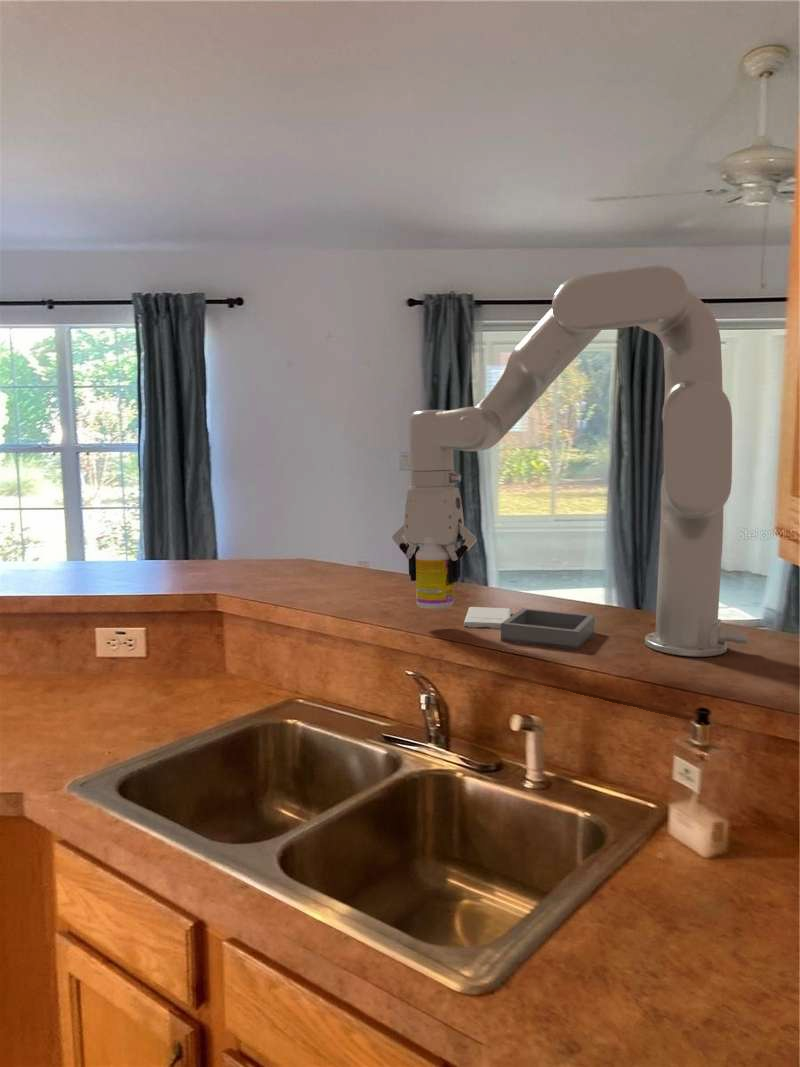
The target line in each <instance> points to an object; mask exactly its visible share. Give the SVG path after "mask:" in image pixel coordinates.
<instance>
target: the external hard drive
mask: <svg viewBox="0 0 800 1067" xmlns="http://www.w3.org/2000/svg"><path fill="white" fill-rule="evenodd" d="M511 613H512V609H511V608H508V607H506V608H505V607H488V606H487V607H485V606H484V607H483V606H482V607H480V606H469V607H468V610H467V612H466V616H465V619H464V622H463V627H464V626H468V627H467V628H477V627H489V628H488V629H500V628H501V623H502V622H504V621H505V620H507V619H508V618H510V617H511V616H512V614H511Z"/></svg>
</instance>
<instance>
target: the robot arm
mask: <svg viewBox="0 0 800 1067" xmlns="http://www.w3.org/2000/svg"><path fill="white" fill-rule="evenodd" d="M715 318H716V317H715V316H714V314H713V313H712V311H711V310H710V308H709V307H708V306H707V305H706V303H704V302H703V301H702V300H701V299H700V298H699V297H698V296H696V295H695V294H693V293H691V292H690V291H688V285H687V283H686V280H685V279H684V277H683V276H682V275H681V273H680V272H678V271H677V270H675V269H673V268H671V267H668V266H664V265H649V266H647V265H646V266H640V267H633V268H625V269H621V270H620V269H619V270H612V271H605V272H596V273H590V274H589V273H588V274H583V275H578V276H574V277H572V278H569V279H567V280H565V281H563V283H561V284H560V285H559V287H558V288H557V289H556V291H555V293H554V294H553V296H552V301H551V308H550V309H549V310H548V311H547V312H546V313H545V315H543V317H541V319H540V320H539V321H538V322H537V323H536V325H534V326H533V327H532V329H531V330H530V331H529V332H528V333H526V336H524V337H523V339H522V340H521V341H520V342H519V343H518V344H517V345H516V346H515V347H514V349H513V350H512V352H511V353H510V355H509V357H508V360H507V364H506V367H505V369H504V371H503V373H502V374H501V376H500V378H499V379H498V381H497V382H496V384H495V385H494V386H493V387H492V388H491V390H490V391H489V392H488V393H487V394H486V395H485V396H484V397H483V399H482V400H481V401H480V402H479V403H478V404H477V405H476V406H468V407H467V406H466V407H465V406H464V407H460V408H455V409H449V410H443V409H425V410H416V411H414V412H413V413H412V414H411V415H410V418H409V450H410V483H411V484H410V486H411V487H410V488H408V489H407V494H406V499H405V508H404V509H405V510H404V524H403V525H402V526H401V527H400V528H399V529H398V530H397V531H396V532H395V533H394V534H393V535H392V537H391V538H392V541H393V542H394V543H395V544H396V545H397V546H398V548H399V549H400V551H401V552H402V553H403V554H404V555H405V558H406V559H407V560H408V575H409V576H410V581H411V582H416V553H417V551H418V550H420V549H421V548H422V545H423V544H425V543H424V540H425V538H426V537H431V538H432V539H433V541H434V544H436V545H444V546H446V548H447V551H448V553H449V555H450V557H451V560H450V561H448V580H449V582H450V583H453V584H454V583H456V582H458V581H459V579H460V577H461V559H463V557H464V556H465V555H466V553H468V551H469V550H470V549H471V548H472V546H474V544H476V542H477V540H478V538H477V536H476V535H475V534H473V532H472V531H470V530H469V529H468V527H466V526H465V522H464V521H465V520H464V511H463V505H462V504H463V503H462V498H461V492H460V490H459V489H460V488H458V487H455V486H456V483H458V482H459V483H460V482H461V480H462V474H460V473H458V474H457V473H456V471H455V470H454V450H456V451H463V452H479V451H486V450H489V449H491V448H493V447H494V446H495V445H496V444H498V443H499V442H500V441H501V440H502V439H503V438H504V437H505V436H506V435H507V434H508V433H509V432H510V431H511V430H512V428H513V427H515V426H516V425H517V423H518V422H519V421H520V420H521V419H522V418H523V417H524V416H525V414H526V413H527V412H528V411H529V410H530V409H531V407H533V405H534V404H535V403H536V402H537V401H538V399H540V398H541V397H542V396H543V394H544V393H545V392H546V391H547V390H548V388H549V387H550V386H551V385H552V384H553V383H554V381H555V380H556V379H557V378H559V376H560V375H561V374H562V373H563V372H564V371H565V369H566V368H567V367H568V366H569V365H570V364H571V363H573V361H574V360H575V359H576V357H578V355H580V354H581V353H582V352H583V351H584V350H585V349H586V347H587V346H589V345H590V343H591V342H592V341H593V340H594V339H595V338H596V337H597V336H598V335H599V334H600V333H601V331H602V330H610V329H620V328H631V327H639V328H641V329H643V330H644V331H647V332H649V333H652V334H655V336H657V338H658V339H659V340H660V342H661V344H662V348H663V361H664V362H663V369H664V402H663V407H662V413H661V414H662V415H661V419H662V426H663V430H662V431H663V432H662V433H663V441H662V442H663V475H662V477H661V478H662V479H661V483H660V484H661V486H660V527H659V530H660V531H659V545H658V547H659V548H658V550H659V551H658V566H657V567H658V569H657V570H658V572H657V592H656V593H657V594H656V609H655V610H656V611H655V631H654V632H650V633H648V634H646V635H645V638H644V639H645V640H644V644H645V645H646V646H647V647H648V648H650V649H652V650H654V651H656V652H657V651H658V652H660V653H666V654H668V655H676V656H683V657H697V658H698V657H703V658H704V657H714V656H719V655H722V654H724V653H726V652H727V650H728V643H727V642H732V643H735V644H741V645H742V644H744V645H747V644H748V637H749V636H748V635H749V632H748V631H742V630H740V629H738V628H726V627H725V626H724V625H723V626H722V625H721V624H722V623H721V622H722V620H721V619H719V608H720V603H719V602H720V593H721V592H720V588H721V573H722V556H723V543H724V542H723V538H724V506H725V505H726V503H727V501H728V499H729V497H730V495H731V491H732V486H733V485H732V481H733V479H732V478H733V414H732V413H733V412H732V407H731V402H730V400H729V398H728V395H727V394H726V393H725V392H724V389H723V362H722V361H723V360H722V343H721V340H722V339H721V334H720V332H721V331H720V328H719V326H718V322H717V320H716V319H715ZM463 541H464V542H463ZM461 542H463V543H462V545H461V546H460V545H459V543H461Z"/></svg>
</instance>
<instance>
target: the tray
mask: <svg viewBox="0 0 800 1067" xmlns="http://www.w3.org/2000/svg"><path fill="white" fill-rule="evenodd" d="M595 617H596V616H595V614H594V615H593V614H584V613H573V612H564V611H557V610H556V611H554V610H546V609H545V610H544V609H536V608H535V609H534V608H526V607H524V608H523V607H522V608H521V609H519V610H518V611H516V613H514V614H512V615H511V616H510V618H508V619H507V620H505V621H504V622H502V623H501V629H500V641H501V642H506V641H508V642H507V643H515V642H520V643H519V644H523V643H527V645H532V644H533V645H534V646H540V645H542V647H548V646H549V647H550V648H558V649H564V650H565V649H566V650H567V649H568V650H574V651H579V649H580V648H581V647H582V646H583V645H584V644H585V643H586V642H587V640H589V639H590V637H591V636H592V635H593V634H595ZM585 641H586V642H585ZM584 642H585V643H584Z"/></svg>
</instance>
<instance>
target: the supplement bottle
mask: <svg viewBox="0 0 800 1067" xmlns="http://www.w3.org/2000/svg"><path fill="white" fill-rule="evenodd" d="M424 543H425V544H423V545H422V546H421V548H420V550H418V551H417V553H416V581H415V587H416V588H415V590H416V591H415V592H416V593H415V595H416V597H415V598H416V605H417V606H418V607H419V608H421V609H424V610H443V609H448V608H450V607H452V606H453V605H454V583H450V582H449V580H448V561H450V560H451V557H450V555H449V553H448V551H447V548H446V546H444V545H436V544H434V541H433V539H432V538H431V537H426V538H425V540H424Z"/></svg>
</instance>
